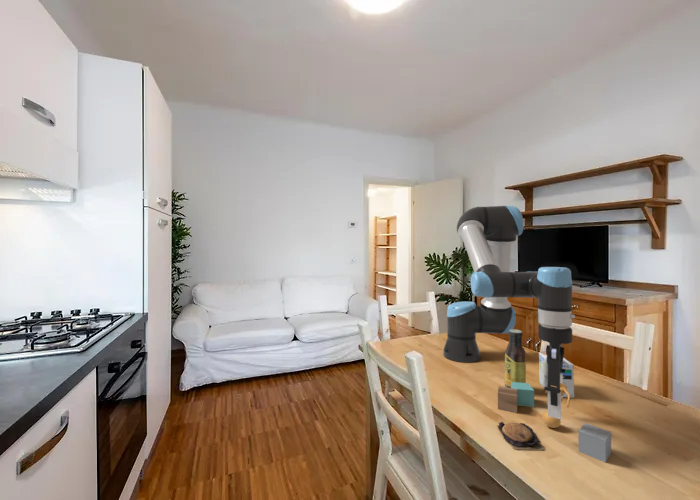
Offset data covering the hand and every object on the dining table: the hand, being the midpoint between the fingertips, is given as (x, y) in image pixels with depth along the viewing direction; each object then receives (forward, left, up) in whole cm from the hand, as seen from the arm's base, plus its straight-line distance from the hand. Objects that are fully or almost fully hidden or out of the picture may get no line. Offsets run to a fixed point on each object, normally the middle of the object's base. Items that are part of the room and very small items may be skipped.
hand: (555, 406), depth 83 cm
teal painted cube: (-10, -9, -6) cm, 15 cm away
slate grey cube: (+7, +8, -6) cm, 12 cm away
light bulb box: (-25, -1, -6) cm, 26 cm away
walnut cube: (-4, -12, -6) cm, 14 cm away
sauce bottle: (-18, -12, -6) cm, 23 cm away
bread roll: (+10, -7, -7) cm, 14 cm away
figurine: (0, 0, -6) cm, 6 cm away
